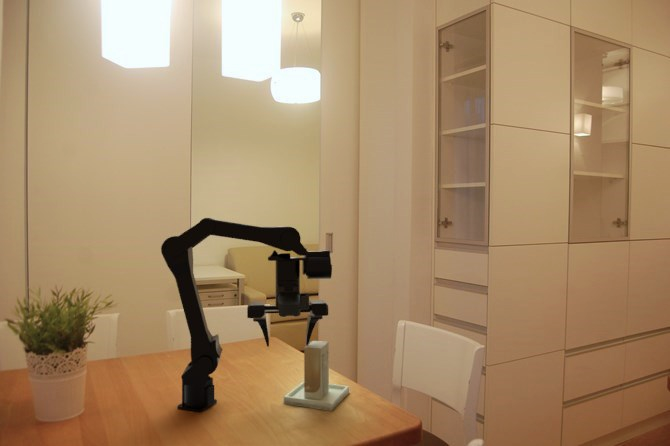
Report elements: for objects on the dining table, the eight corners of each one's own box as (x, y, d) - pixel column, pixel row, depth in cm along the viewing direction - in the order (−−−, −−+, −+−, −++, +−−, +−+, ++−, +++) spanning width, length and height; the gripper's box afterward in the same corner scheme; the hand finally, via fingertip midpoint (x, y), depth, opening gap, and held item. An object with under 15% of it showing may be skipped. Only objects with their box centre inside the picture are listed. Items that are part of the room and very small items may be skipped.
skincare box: (312, 389, 115) (312, 339, 115) (329, 391, 114) (329, 341, 114) (303, 398, 109) (303, 346, 109) (320, 400, 107) (320, 348, 107)
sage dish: (283, 403, 108) (283, 396, 108) (304, 386, 119) (304, 380, 119) (331, 410, 104) (331, 403, 104) (349, 392, 115) (349, 386, 115)
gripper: (246, 284, 100) (246, 357, 100) (332, 282, 103) (332, 353, 103) (247, 278, 111) (247, 343, 111) (324, 277, 114) (324, 340, 114)
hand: (287, 345), depth 110 cm, fingers open, 9 cm apart
